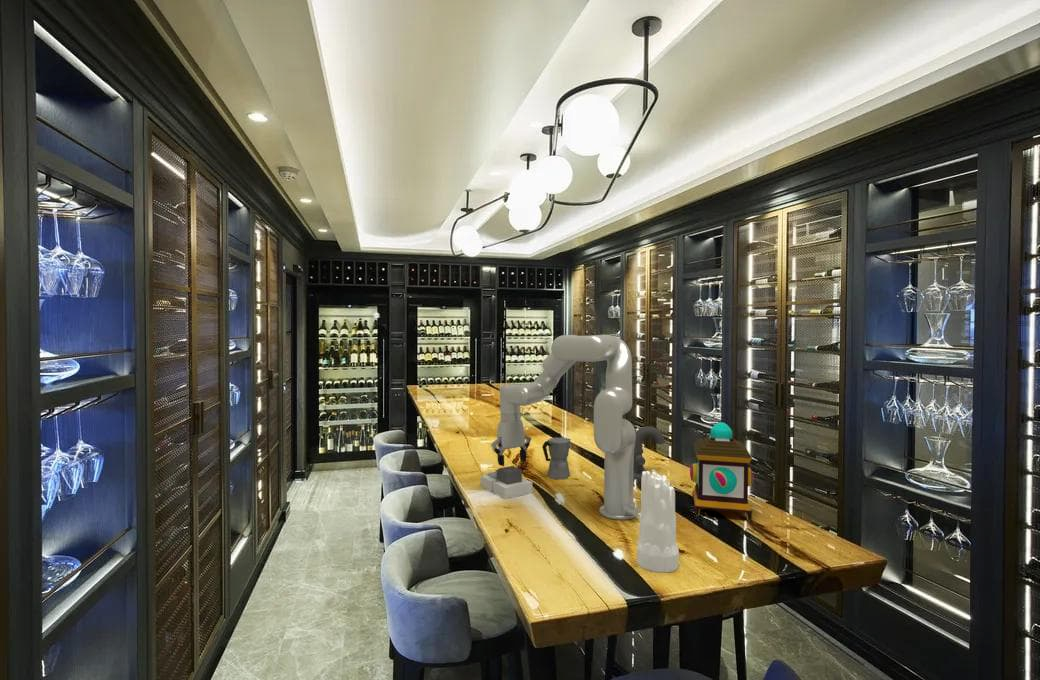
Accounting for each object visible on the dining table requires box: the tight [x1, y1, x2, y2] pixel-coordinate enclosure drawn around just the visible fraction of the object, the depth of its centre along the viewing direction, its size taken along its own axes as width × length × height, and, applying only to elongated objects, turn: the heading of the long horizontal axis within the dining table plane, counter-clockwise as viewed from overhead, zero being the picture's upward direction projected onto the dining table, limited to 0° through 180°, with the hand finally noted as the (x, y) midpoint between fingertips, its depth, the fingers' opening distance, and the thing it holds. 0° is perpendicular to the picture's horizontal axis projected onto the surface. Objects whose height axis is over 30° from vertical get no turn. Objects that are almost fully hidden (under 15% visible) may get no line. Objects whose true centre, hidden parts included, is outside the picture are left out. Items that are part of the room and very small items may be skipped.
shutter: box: [486, 469, 498, 479], centre depth 205 cm, size 7×7×3 cm
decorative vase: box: [636, 468, 680, 573], centre depth 139 cm, size 11×11×25 cm
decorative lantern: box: [689, 422, 754, 522], centre depth 178 cm, size 20×20×30 cm
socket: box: [480, 474, 533, 500], centre depth 201 cm, size 18×12×4 cm, turn 34°
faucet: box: [633, 425, 666, 480], centre depth 221 cm, size 18×16×20 cm
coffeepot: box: [542, 432, 571, 480], centre depth 216 cm, size 15×9×18 cm, turn 129°
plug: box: [497, 465, 523, 485], centre depth 198 cm, size 6×6×8 cm
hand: (512, 462), depth 197 cm, fingers open, 9 cm apart
